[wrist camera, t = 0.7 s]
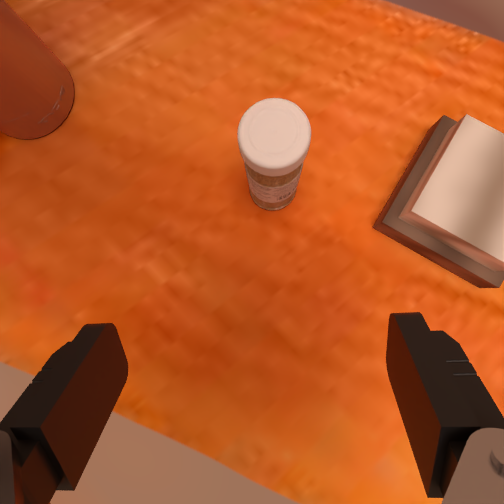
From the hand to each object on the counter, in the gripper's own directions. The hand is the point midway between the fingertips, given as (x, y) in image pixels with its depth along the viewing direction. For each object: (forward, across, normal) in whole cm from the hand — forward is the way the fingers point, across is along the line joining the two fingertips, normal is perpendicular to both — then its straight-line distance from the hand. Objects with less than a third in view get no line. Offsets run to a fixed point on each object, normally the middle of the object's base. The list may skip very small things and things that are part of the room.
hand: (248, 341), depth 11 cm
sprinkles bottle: (+26, 0, +4) cm, 27 cm away
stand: (+26, -16, +7) cm, 31 cm away
